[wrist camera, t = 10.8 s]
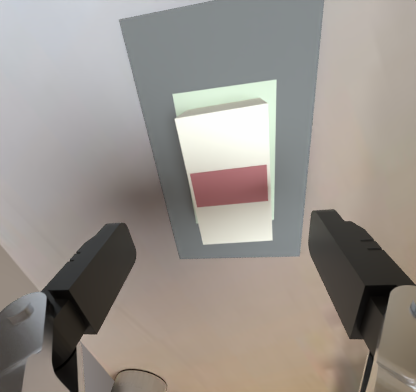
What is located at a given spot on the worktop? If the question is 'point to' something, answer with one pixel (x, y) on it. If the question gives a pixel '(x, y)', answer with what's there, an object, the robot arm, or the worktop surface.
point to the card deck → (229, 170)
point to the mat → (230, 100)
